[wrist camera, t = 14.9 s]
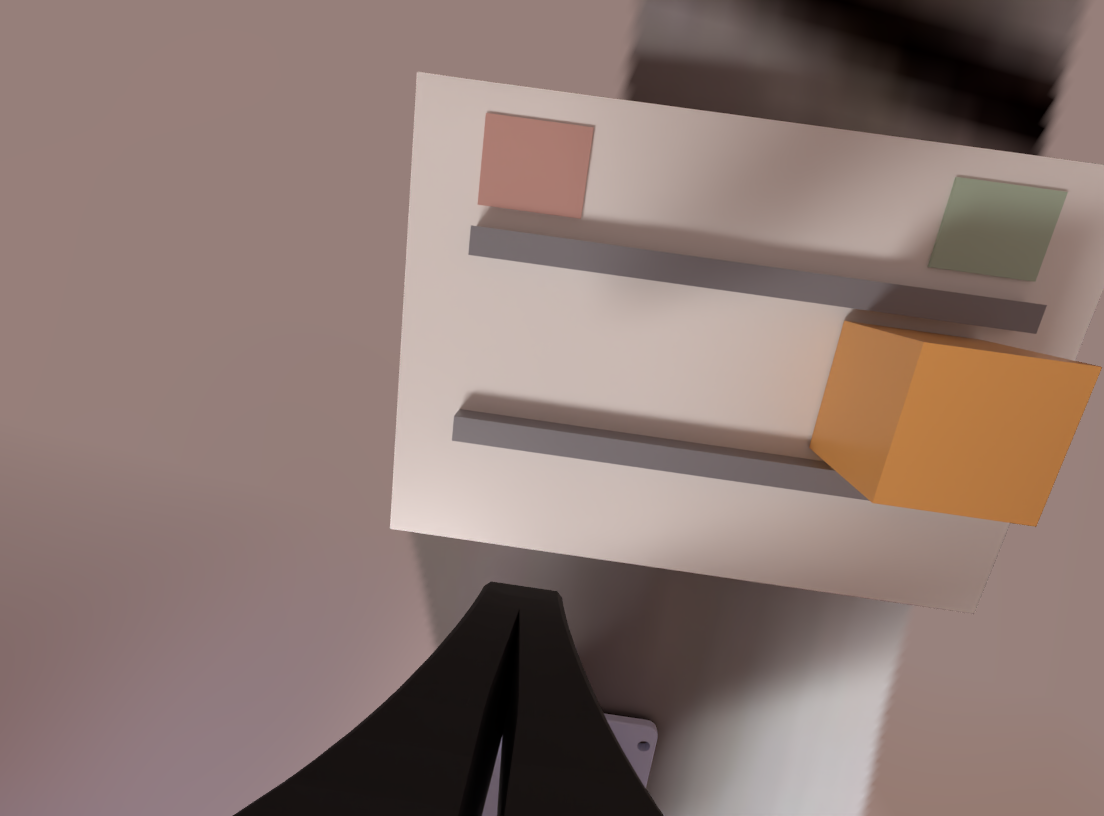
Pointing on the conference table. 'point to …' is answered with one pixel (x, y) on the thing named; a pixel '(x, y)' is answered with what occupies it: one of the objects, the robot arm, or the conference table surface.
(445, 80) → the plate
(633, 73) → the conference table surface
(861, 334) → the orange cube
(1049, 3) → the conference table surface
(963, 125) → the conference table surface
